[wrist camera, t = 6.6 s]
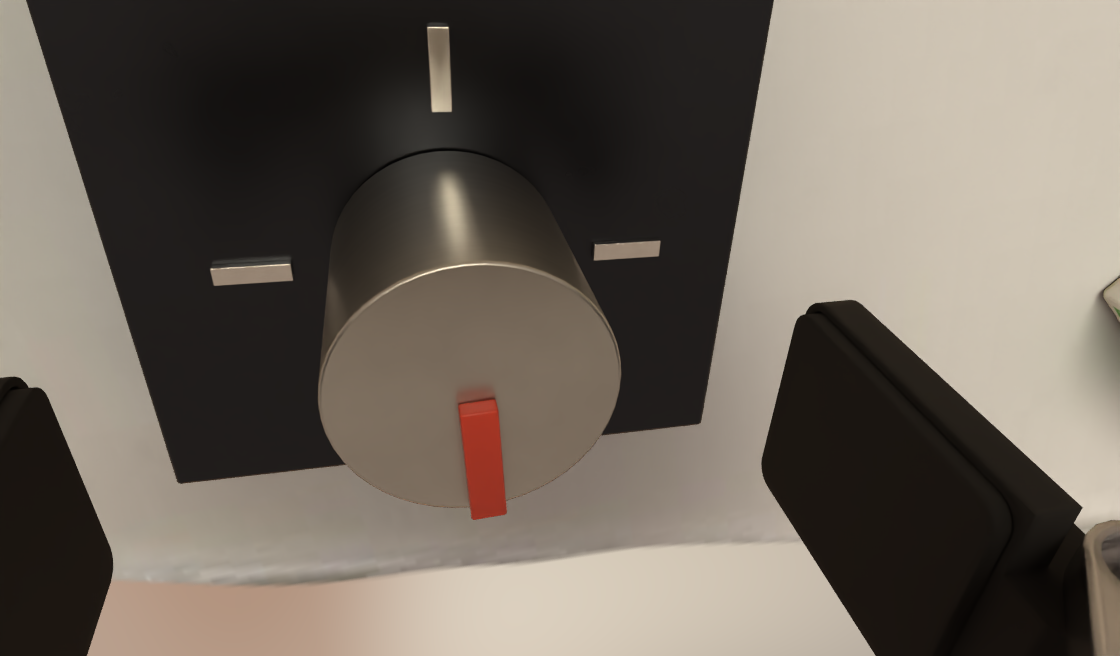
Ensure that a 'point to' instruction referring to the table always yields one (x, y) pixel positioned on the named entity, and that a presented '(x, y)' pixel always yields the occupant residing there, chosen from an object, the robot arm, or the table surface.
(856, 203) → the table surface
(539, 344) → the dial
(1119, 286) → the small box
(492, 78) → the dial panel
